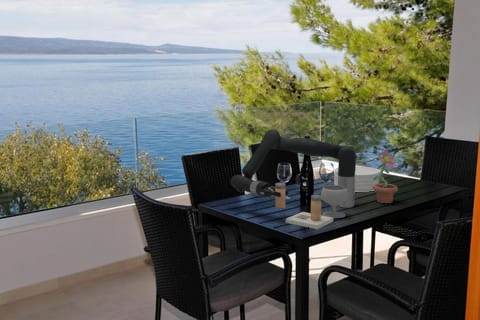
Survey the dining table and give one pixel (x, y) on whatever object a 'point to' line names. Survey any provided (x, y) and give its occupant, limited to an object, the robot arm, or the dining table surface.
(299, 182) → the pneumatic valve
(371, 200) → the dining table surface
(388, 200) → the decorative flower
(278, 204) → the grey-capped tan peg
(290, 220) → the white board with post
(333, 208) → the chalice
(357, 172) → the plate stack
